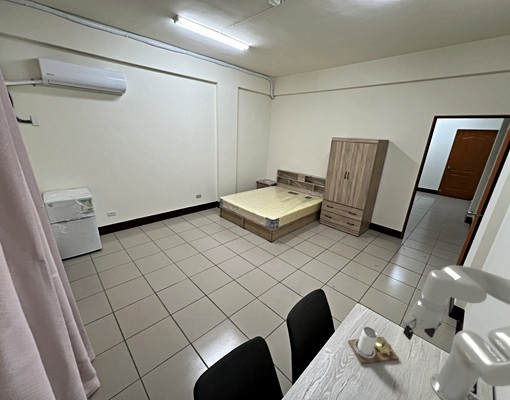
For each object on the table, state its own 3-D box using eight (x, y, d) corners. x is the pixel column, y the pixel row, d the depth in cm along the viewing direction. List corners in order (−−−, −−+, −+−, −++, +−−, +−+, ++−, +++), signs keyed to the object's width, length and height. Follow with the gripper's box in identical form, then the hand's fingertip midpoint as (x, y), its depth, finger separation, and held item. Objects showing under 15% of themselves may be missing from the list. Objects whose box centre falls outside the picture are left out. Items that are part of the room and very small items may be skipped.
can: (368, 344, 108) (374, 327, 104) (373, 357, 102) (380, 339, 98) (355, 342, 109) (360, 325, 105) (359, 355, 103) (365, 337, 99)
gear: (383, 338, 112) (385, 332, 111) (396, 355, 104) (398, 349, 102) (368, 340, 111) (370, 333, 109) (380, 357, 103) (382, 350, 101)
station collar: (366, 339, 111) (367, 337, 111) (379, 358, 102) (379, 356, 102) (349, 341, 109) (350, 339, 109) (361, 360, 100) (361, 358, 100)
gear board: (382, 338, 114) (383, 336, 113) (398, 359, 104) (399, 357, 103) (348, 342, 111) (348, 340, 110) (360, 364, 100) (361, 362, 100)
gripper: (442, 293, 84) (427, 325, 90) (403, 295, 81) (391, 328, 87) (461, 308, 77) (444, 342, 83) (420, 312, 74) (405, 346, 80)
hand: (417, 335), depth 85 cm, fingers open, 9 cm apart
